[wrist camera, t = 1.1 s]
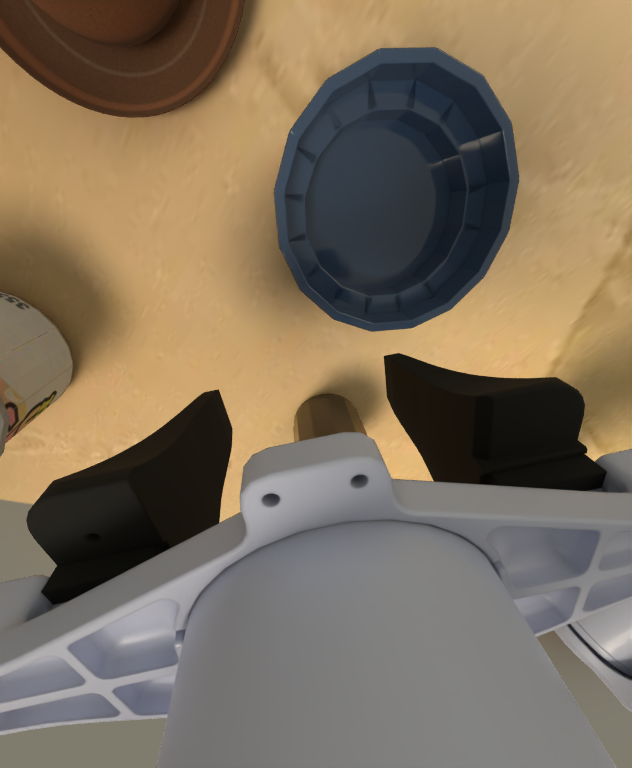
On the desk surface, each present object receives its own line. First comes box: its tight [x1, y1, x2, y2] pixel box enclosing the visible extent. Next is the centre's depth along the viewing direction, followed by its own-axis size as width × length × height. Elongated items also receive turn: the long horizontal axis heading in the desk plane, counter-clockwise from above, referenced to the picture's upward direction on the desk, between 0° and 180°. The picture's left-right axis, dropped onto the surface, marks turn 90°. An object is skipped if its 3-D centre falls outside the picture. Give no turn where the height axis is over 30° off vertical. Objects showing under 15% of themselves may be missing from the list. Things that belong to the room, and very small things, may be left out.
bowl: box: [274, 47, 519, 332], centre depth 18 cm, size 12×12×4 cm
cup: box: [293, 394, 367, 442], centre depth 24 cm, size 5×5×7 cm
